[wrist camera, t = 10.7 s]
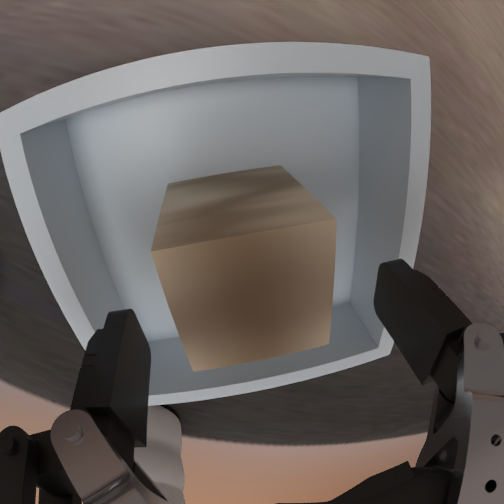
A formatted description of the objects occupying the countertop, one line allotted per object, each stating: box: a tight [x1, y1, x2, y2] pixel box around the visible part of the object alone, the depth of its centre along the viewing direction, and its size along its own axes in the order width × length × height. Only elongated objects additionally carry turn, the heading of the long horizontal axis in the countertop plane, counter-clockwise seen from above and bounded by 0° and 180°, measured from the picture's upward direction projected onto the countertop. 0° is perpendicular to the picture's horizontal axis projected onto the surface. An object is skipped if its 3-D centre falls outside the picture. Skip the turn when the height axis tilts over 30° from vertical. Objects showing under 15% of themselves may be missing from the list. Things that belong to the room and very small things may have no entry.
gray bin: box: [0, 42, 431, 406], centre depth 13 cm, size 15×15×5 cm
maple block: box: [151, 165, 337, 372], centre depth 12 cm, size 5×5×6 cm
